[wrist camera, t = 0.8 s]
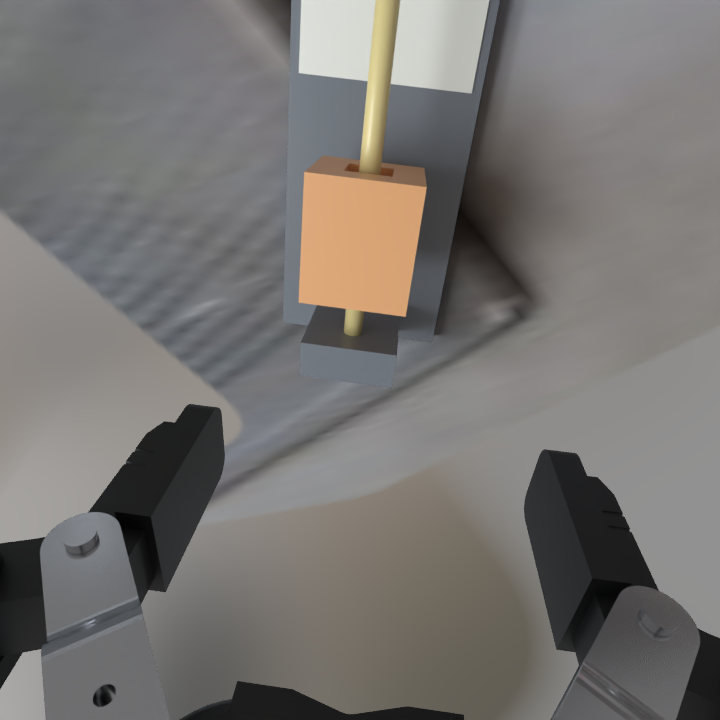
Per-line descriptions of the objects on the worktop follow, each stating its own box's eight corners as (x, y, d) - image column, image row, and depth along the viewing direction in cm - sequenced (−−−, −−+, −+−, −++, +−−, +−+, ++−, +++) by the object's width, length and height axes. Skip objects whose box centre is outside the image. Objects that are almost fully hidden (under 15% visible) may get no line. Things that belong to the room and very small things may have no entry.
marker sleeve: (323, 155, 25) (304, 171, 21) (424, 167, 25) (426, 187, 21) (316, 266, 28) (298, 302, 24) (407, 278, 28) (405, 316, 24)
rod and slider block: (302, -241, 21) (248, -398, 14) (540, -218, 21) (603, -367, 14) (286, 315, 34) (253, 376, 27) (431, 335, 34) (436, 401, 27)
